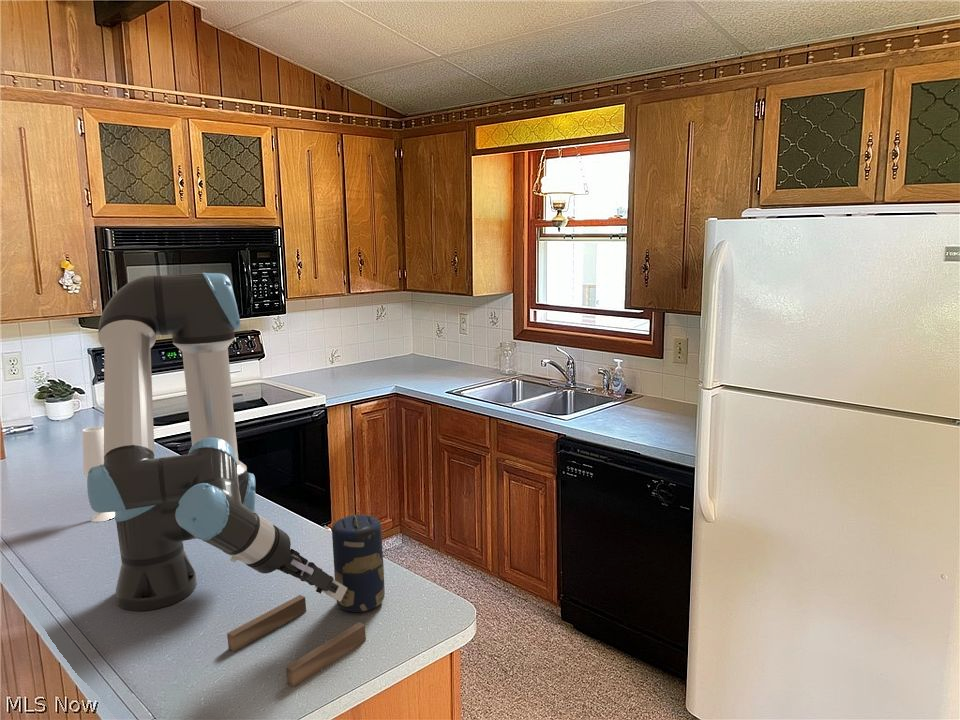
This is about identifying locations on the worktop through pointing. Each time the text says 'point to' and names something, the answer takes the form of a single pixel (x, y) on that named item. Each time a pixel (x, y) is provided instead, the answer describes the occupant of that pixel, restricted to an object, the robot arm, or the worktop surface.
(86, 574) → the worktop surface
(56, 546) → the worktop surface
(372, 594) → the canister
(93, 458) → the champagne flute
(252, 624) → the walnut chute
